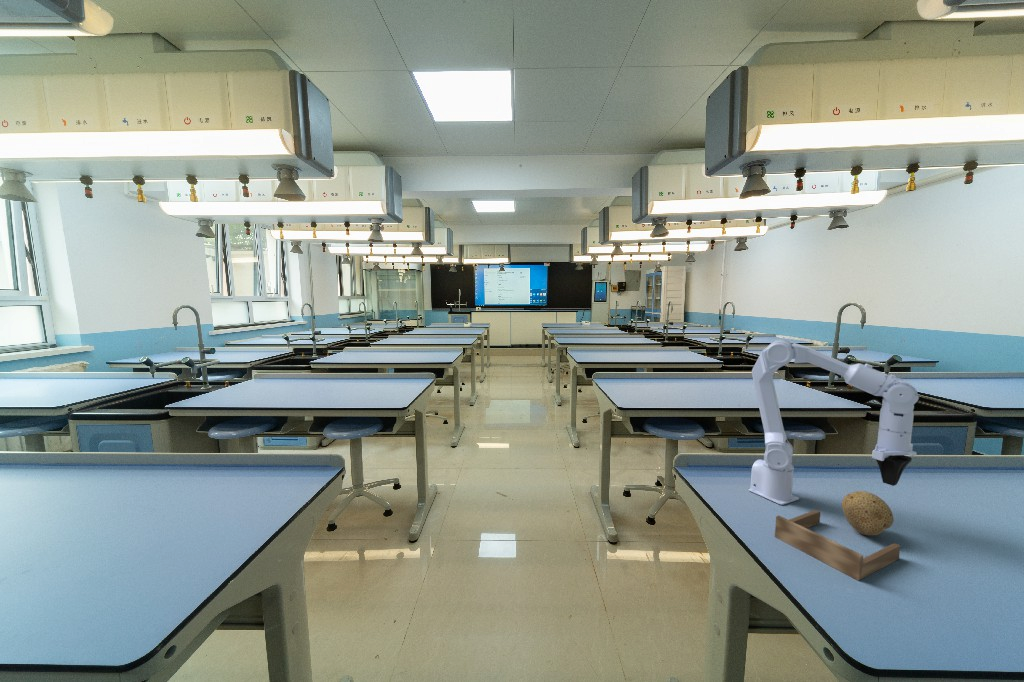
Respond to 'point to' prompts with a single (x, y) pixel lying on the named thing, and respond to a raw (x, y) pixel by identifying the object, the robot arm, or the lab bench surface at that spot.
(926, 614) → the lab bench surface
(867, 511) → the natural sponge
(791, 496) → the robot arm
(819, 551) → the wooden u-shaped fence
